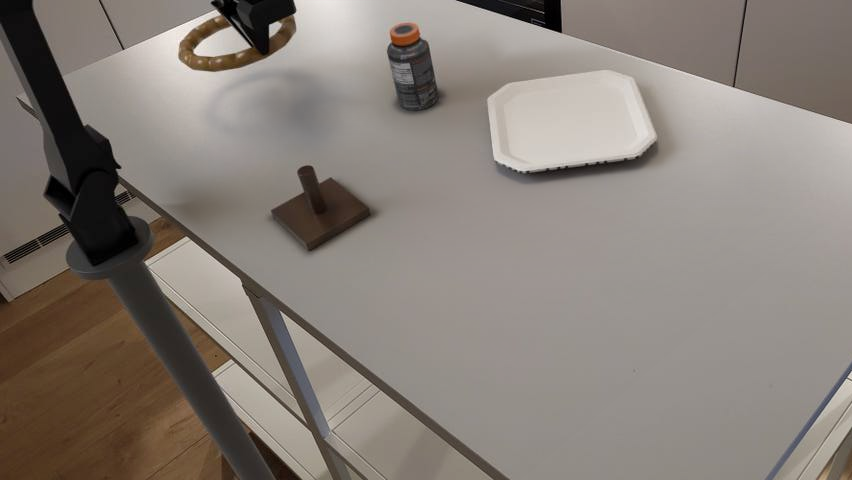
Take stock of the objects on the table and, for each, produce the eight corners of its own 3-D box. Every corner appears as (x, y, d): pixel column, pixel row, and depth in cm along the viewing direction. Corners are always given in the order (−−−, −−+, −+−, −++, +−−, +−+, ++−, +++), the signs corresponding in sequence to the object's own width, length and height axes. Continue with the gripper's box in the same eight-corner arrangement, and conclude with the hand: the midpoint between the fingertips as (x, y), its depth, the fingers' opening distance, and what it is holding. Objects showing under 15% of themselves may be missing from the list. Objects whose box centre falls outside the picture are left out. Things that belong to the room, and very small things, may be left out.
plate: (487, 98, 109) (485, 85, 107) (630, 79, 108) (630, 65, 107) (497, 187, 94) (495, 173, 93) (663, 165, 93) (664, 151, 92)
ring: (212, 87, 101) (206, 73, 99) (163, 52, 111) (157, 40, 110) (319, 34, 107) (315, 21, 106) (263, 6, 118) (259, -6, 117)
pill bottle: (432, 85, 113) (419, 13, 105) (443, 104, 109) (430, 32, 101) (394, 95, 113) (378, 24, 105) (403, 115, 108) (387, 43, 100)
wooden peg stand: (308, 251, 90) (290, 205, 85) (273, 217, 95) (254, 172, 90) (370, 214, 93) (357, 168, 88) (333, 184, 99) (318, 138, 94)
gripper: (314, -70, 90) (346, 49, 101) (244, -100, 102) (280, 10, 113) (231, -36, 86) (274, 84, 97) (168, -72, 97) (212, 39, 108)
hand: (261, 51), depth 104 cm, fingers closed on ring, 2 cm apart
